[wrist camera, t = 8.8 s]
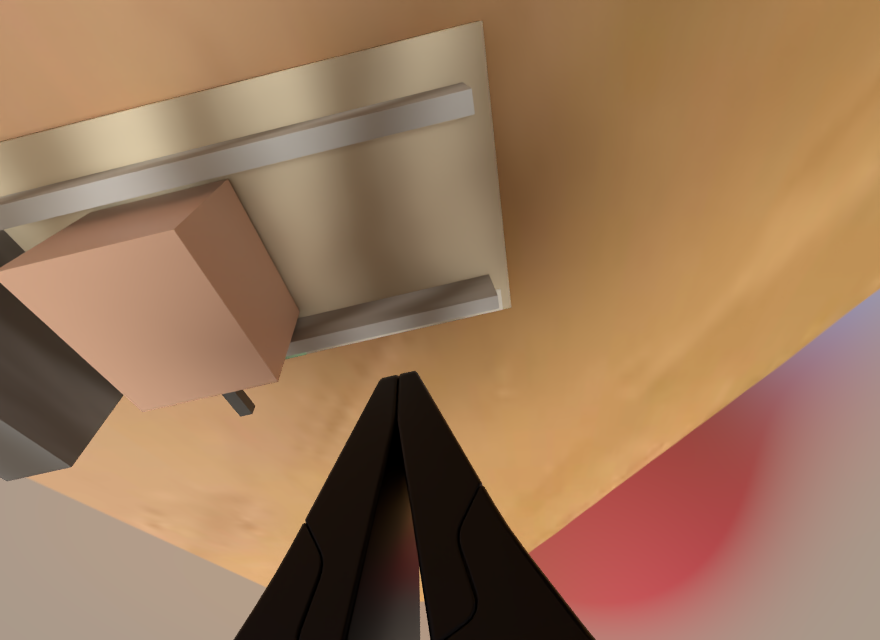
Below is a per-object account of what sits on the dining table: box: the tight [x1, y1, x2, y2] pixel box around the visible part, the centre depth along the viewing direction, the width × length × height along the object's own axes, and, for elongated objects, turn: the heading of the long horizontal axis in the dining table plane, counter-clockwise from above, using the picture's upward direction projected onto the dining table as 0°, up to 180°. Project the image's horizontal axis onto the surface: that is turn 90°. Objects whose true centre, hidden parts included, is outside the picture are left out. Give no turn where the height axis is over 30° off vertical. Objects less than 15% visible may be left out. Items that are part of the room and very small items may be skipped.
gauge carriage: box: [0, 179, 300, 417], centre depth 17 cm, size 6×10×5 cm, turn 12°
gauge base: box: [0, 21, 511, 481], centre depth 16 cm, size 24×13×7 cm, turn 102°
